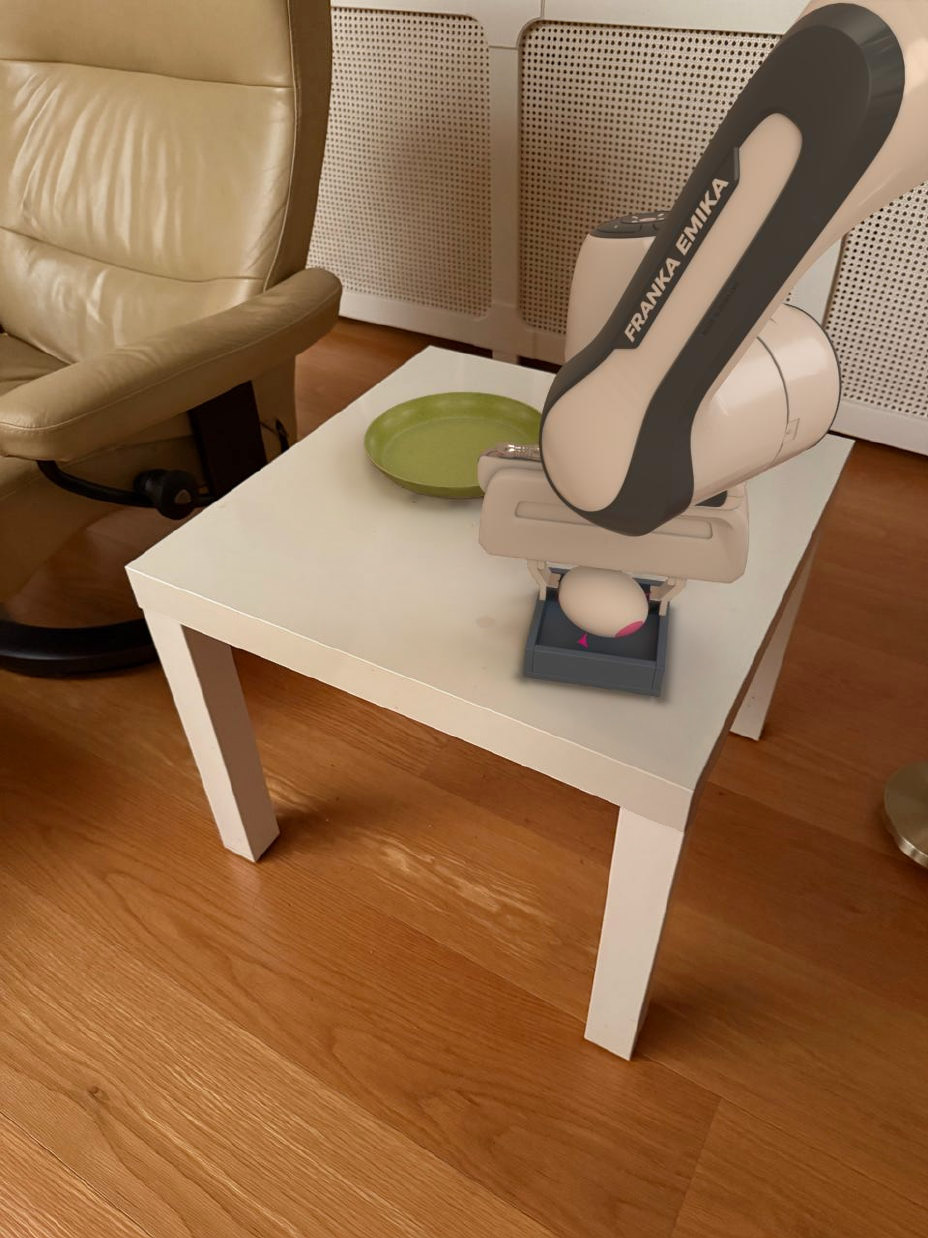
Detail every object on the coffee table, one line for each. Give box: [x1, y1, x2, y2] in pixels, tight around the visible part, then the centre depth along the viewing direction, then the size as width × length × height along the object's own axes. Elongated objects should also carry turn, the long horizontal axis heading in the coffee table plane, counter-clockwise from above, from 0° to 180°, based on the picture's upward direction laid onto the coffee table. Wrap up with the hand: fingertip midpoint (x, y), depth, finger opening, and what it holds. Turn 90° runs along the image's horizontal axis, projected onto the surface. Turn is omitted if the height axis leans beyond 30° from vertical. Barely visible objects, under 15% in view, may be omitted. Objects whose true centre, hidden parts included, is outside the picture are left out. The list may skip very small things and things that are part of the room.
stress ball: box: [558, 565, 649, 647], centre depth 72 cm, size 8×8×7 cm
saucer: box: [363, 391, 542, 499], centre depth 96 cm, size 21×21×3 cm
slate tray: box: [523, 566, 671, 697], centre depth 73 cm, size 11×11×3 cm
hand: (602, 603), depth 71 cm, fingers closed on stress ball, 7 cm apart
